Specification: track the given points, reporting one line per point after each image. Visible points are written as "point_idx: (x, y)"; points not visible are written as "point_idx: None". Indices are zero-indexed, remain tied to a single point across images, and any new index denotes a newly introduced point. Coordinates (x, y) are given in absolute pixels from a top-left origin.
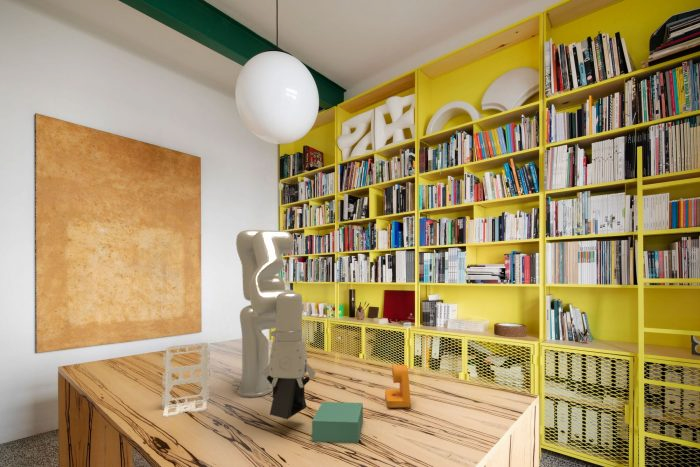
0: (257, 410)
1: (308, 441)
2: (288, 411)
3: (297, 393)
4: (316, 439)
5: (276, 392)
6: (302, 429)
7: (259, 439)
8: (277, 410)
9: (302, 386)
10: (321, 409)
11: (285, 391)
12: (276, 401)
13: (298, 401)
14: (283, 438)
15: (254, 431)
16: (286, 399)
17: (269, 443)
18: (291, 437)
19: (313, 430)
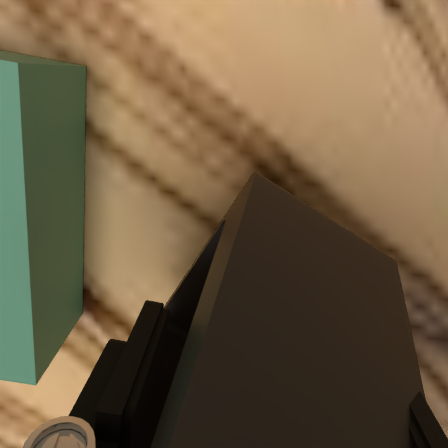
0: None
1: (110, 68)
2: (243, 205)
3: (149, 365)
4: (54, 60)
5: (406, 407)
6: (172, 221)
7: (413, 127)
8: (343, 250)
9: (52, 438)
10: (6, 275)
11: (297, 381)
12: (374, 317)
13: (157, 306)
14: (268, 124)
15: (442, 228)
16: (272, 290)
17: (350, 66)
18: (221, 132)
19: (46, 62)
